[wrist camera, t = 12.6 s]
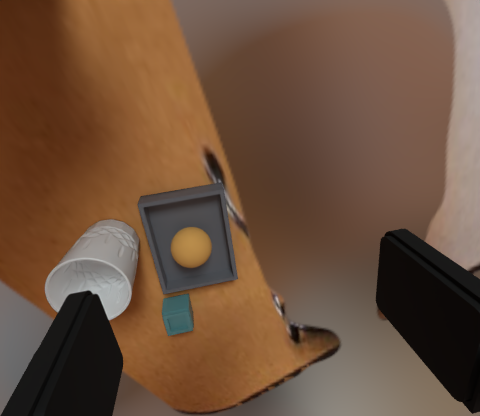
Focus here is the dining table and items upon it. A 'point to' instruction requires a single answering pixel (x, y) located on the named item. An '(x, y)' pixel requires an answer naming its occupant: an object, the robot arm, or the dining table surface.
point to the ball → (191, 247)
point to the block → (178, 314)
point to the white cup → (98, 267)
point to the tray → (182, 216)
